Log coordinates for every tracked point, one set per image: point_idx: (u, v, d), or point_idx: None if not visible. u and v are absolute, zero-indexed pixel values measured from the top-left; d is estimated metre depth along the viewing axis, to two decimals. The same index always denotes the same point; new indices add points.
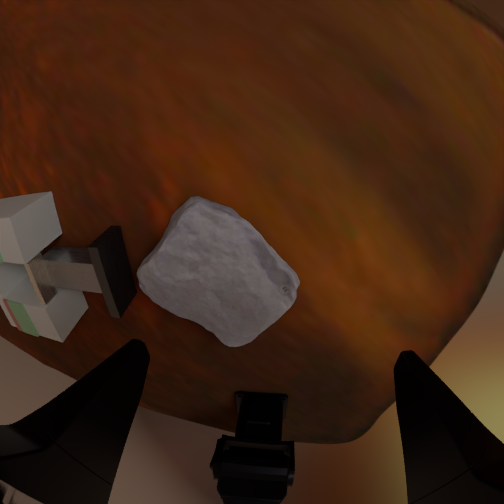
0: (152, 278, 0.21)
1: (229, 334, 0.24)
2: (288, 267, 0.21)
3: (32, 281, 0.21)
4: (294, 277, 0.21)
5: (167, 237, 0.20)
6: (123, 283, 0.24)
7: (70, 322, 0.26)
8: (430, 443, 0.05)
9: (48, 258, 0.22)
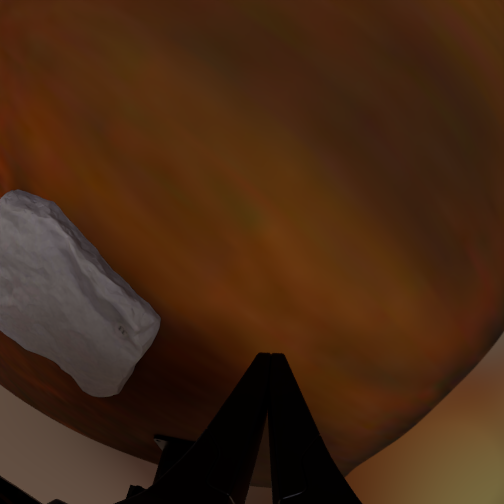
0: None
1: (83, 381, 0.14)
2: (118, 294, 0.11)
3: None
4: (128, 312, 0.11)
5: None
6: None
7: None
8: (272, 457, 0.06)
9: None
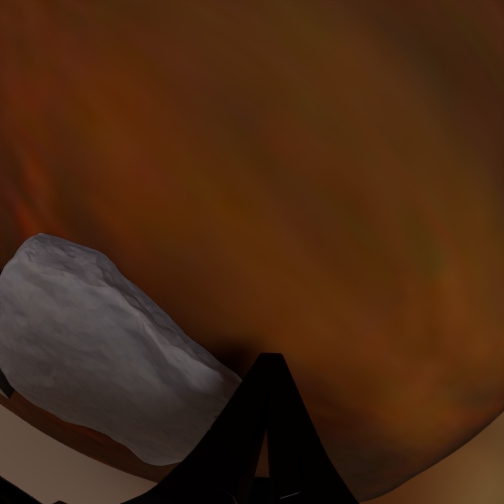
0: (4, 373, 0.08)
1: (146, 455, 0.11)
2: (220, 384, 0.09)
3: None
4: None
5: None
6: None
7: None
8: (270, 457, 0.06)
9: None
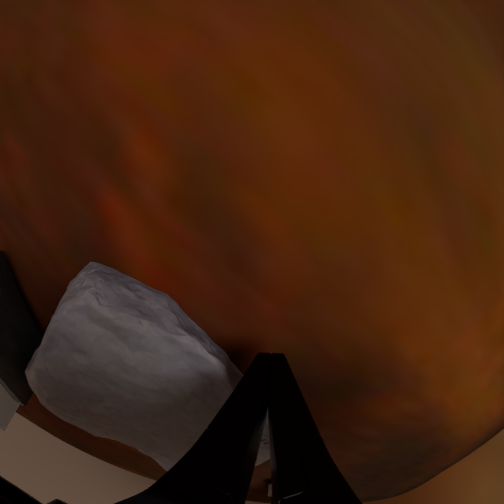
0: (39, 395, 0.09)
1: None
2: None
3: None
4: None
5: (40, 349, 0.08)
6: (22, 351, 0.10)
7: (11, 400, 0.12)
8: (272, 457, 0.06)
9: None
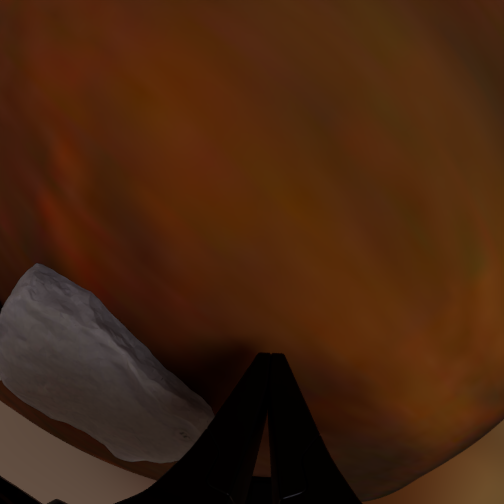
0: None
1: (119, 452, 0.12)
2: (186, 410, 0.10)
3: None
4: (196, 426, 0.10)
5: None
6: None
7: None
8: (272, 457, 0.06)
9: None
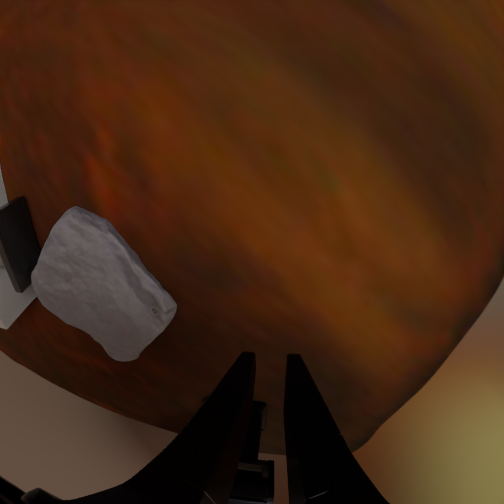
0: (37, 285, 0.17)
1: (112, 348, 0.21)
2: (156, 288, 0.18)
3: None
4: (161, 299, 0.18)
5: (43, 247, 0.16)
6: (27, 257, 0.19)
7: (16, 308, 0.20)
8: (292, 458, 0.06)
9: None
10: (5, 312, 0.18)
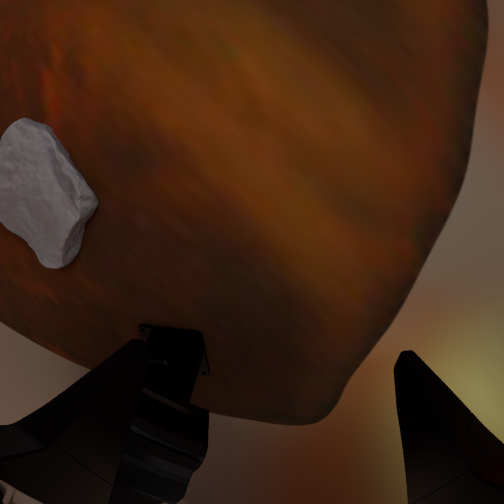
0: None
1: (41, 251, 0.19)
2: (74, 173, 0.17)
3: None
4: (76, 183, 0.17)
5: None
6: None
7: None
8: (430, 443, 0.05)
9: None
10: None
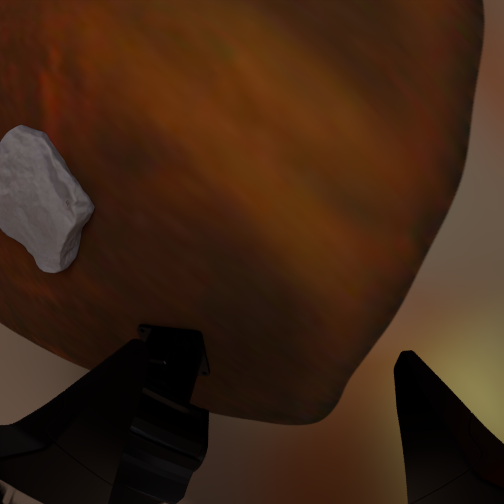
0: None
1: (39, 255, 0.20)
2: (69, 179, 0.17)
3: None
4: (72, 189, 0.17)
5: None
6: None
7: None
8: (430, 443, 0.05)
9: None
10: None
